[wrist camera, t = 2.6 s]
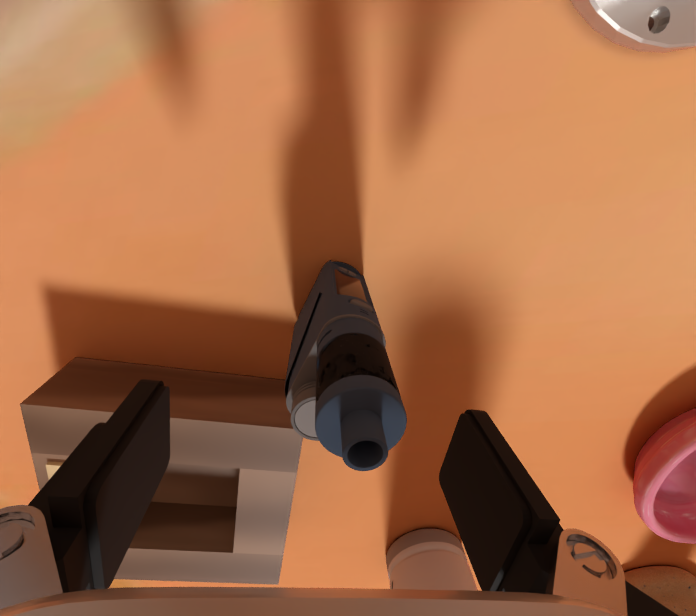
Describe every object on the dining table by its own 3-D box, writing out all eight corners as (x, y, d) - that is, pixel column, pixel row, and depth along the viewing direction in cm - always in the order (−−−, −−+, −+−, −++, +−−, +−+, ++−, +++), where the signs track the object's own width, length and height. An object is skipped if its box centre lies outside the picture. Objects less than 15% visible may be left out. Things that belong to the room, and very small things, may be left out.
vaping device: (372, 269, 19) (442, 432, 8) (329, 347, 21) (338, 568, 10) (329, 248, 18) (339, 394, 7) (288, 330, 20) (247, 546, 9)
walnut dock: (75, 357, 20) (16, 406, 16) (307, 382, 22) (303, 432, 18) (98, 514, 25) (57, 580, 21) (284, 525, 27) (277, 587, 23)
